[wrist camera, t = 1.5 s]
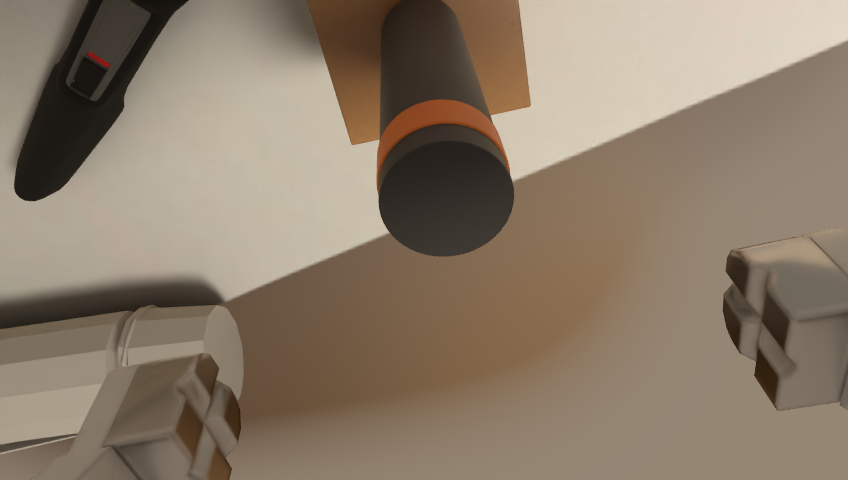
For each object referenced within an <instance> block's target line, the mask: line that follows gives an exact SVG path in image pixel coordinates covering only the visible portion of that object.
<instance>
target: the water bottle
mask: <svg viewBox="0 0 848 480" xmlns="http://www.w3.org/2000/svg"><path fill="white" fill-rule="evenodd" d="M198 353H206V354H210V355H211V356H212V358H213V359H214V361H215V362H216V364H217V365H218V367H219V372H218V375H217V379H216V380H218V381H220V382H222V383H223V384H225V385H227V386H229V387H231V389H232V391H233V393H234V395H235V396H236V399H237V401H238V399H239V397H240V395H241V389H242V382H243V373H244V365H243V351H242V343H241V340H240V336H239V332H238V328H237V325H236V322H235V320H234V319H233V317H232V315H231V314H230V313H229V311H228V309H227V308H225V307H222V306H218V305H207V306H186V307H166V308H158V307H156V306H154V305H150V306H146V307H141V308H139V309H138V310H137V311H136V312H132V311H122V312H115V313H108V314H102V315H95V316H88V317H81V318H74V319H68V320H61V321H54V322H47V323H40V324H33V325H27V326H20V327H13V328H6V329H0V444H4V443H9V444H4V445H0V454H4V453H8V452H13V451H17V450H21V449H25V448H30V447H34V446H39V445H43V444H47V443H52V442H55V441H60V440H64V439H68V438H73V437H76V436H77V434H78V432H79V430H80V428H81V426H82V424H83V422H84V420H85V418H86V416H87V414H88V412H89V410H90V408H91V406H92V404H93V402H94V400H95V398H96V396H97V394H98V392H99V390H100V388H101V386H102V384H103V382H104V380H105V378H106V376H107V374H108V373H110V372H111V371H112V370H114V369H115V368H119V367H125V366H131V365H137V364H144V363H145V362H150V361H156V360H162V359H168V358H174V357H180V356H186V355H192V354H198ZM11 442H13V443H11Z"/></svg>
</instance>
